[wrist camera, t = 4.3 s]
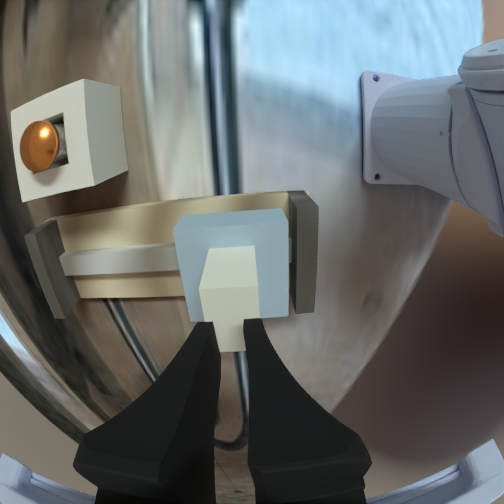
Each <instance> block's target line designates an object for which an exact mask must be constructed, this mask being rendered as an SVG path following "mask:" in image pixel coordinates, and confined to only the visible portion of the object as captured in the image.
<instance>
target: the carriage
mask: <svg viewBox="0 0 504 504" xmlns="http://www.w3.org/2000/svg"><path fill="white" fill-rule="evenodd" d="M173 235H174V241H175V247H176V252H177V258H178V263H179V268H180V274H181V279H182V284H183V288H184V293H185V298H186V303H187V307H188V312H189V316H190V320H191V322H199V321H205V322H212V321H213V324H214V329H215V333H216V338H217V342H218V347H219V351H220V352H236V351H246V348H245V341H244V334H243V322H244V319H252V318H272V317H285V316H288V305H289V246H288V220H287V218H286V216H285V214H284V212H283V210H282V208H280V209H263V210H248V211H234V212H220V213H208V214H196V215H185V216H182V217H181V218H180V220H179V221H178V223H177V224H176V226H175V227H174V229H173Z"/></svg>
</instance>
